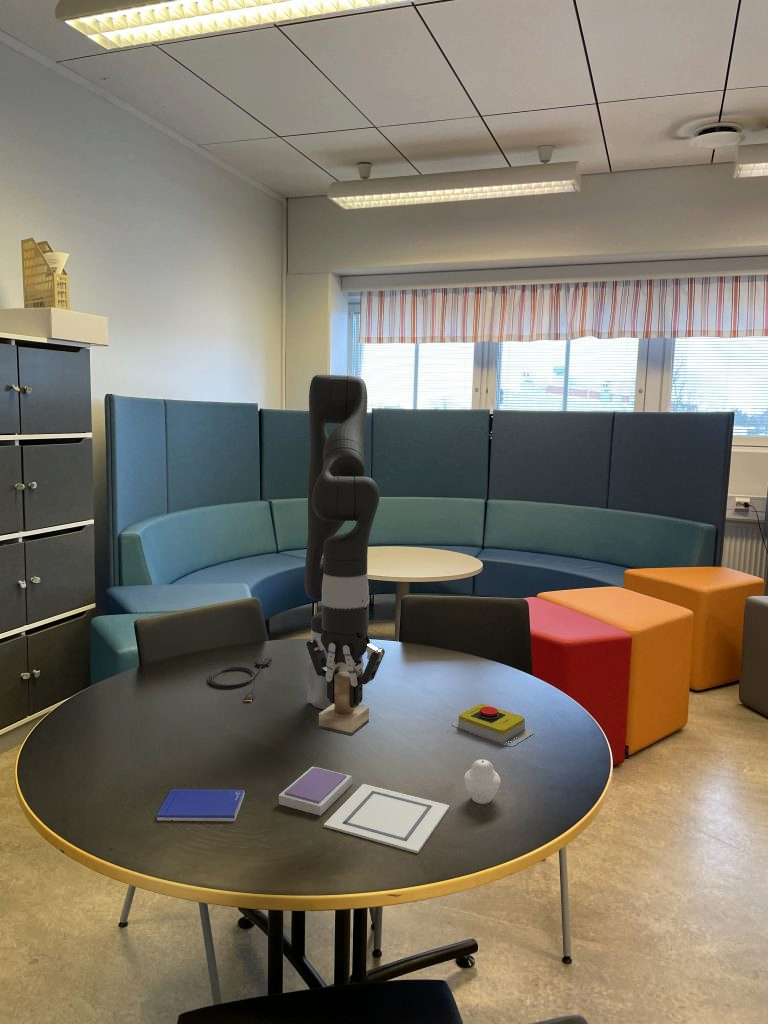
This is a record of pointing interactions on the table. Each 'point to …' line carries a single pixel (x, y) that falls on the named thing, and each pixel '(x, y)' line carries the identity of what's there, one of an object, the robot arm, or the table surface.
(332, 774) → the ink pad
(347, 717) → the stamp
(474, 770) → the white rounded piece
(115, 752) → the table surface
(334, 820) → the sheet
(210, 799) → the blue book
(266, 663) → the cable
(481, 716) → the emergency button
